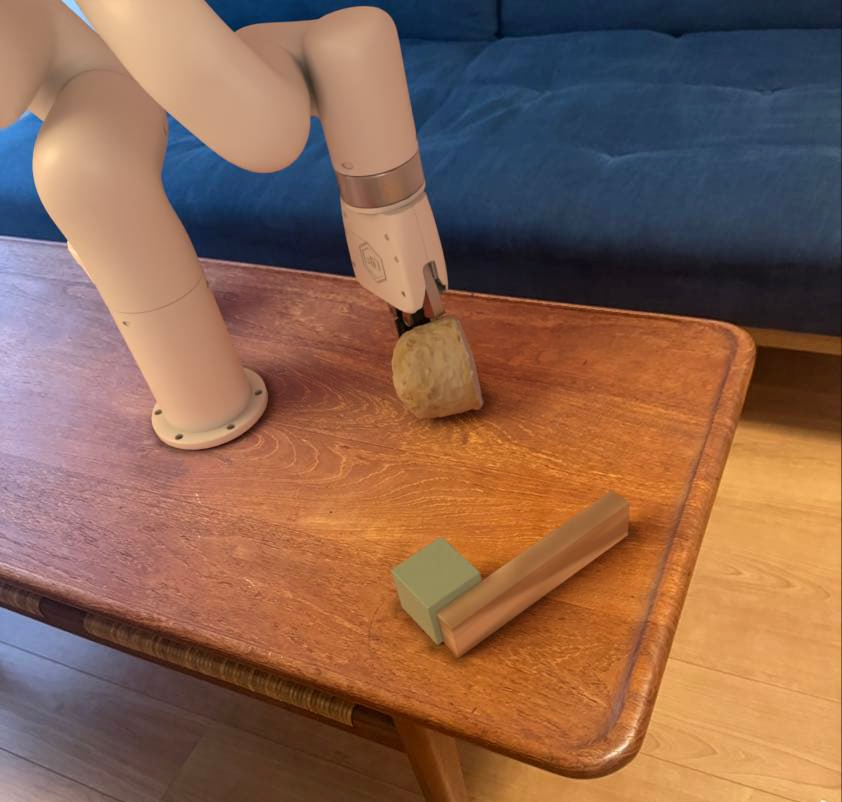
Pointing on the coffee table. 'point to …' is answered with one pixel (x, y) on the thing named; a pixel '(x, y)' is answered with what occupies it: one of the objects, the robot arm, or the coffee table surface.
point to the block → (433, 583)
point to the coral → (436, 370)
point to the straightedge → (533, 573)
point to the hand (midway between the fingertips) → (419, 347)
